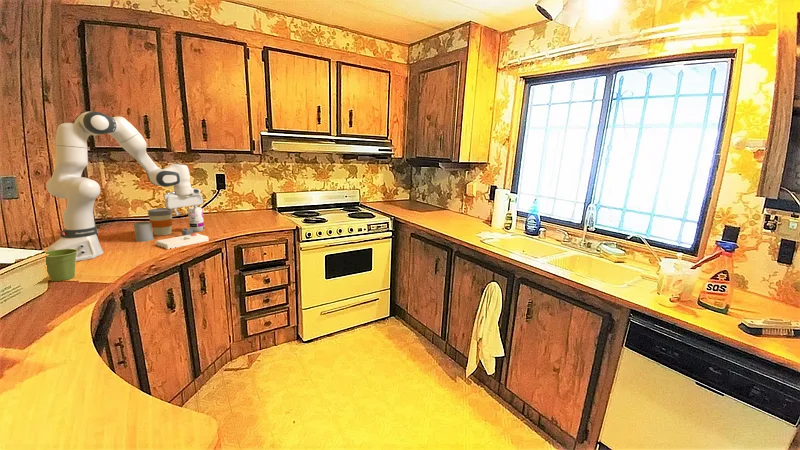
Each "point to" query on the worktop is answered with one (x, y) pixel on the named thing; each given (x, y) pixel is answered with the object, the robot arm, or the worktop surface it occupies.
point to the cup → (143, 231)
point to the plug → (187, 232)
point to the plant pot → (61, 264)
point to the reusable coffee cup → (161, 220)
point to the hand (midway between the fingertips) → (185, 214)
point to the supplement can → (196, 219)
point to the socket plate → (182, 240)
